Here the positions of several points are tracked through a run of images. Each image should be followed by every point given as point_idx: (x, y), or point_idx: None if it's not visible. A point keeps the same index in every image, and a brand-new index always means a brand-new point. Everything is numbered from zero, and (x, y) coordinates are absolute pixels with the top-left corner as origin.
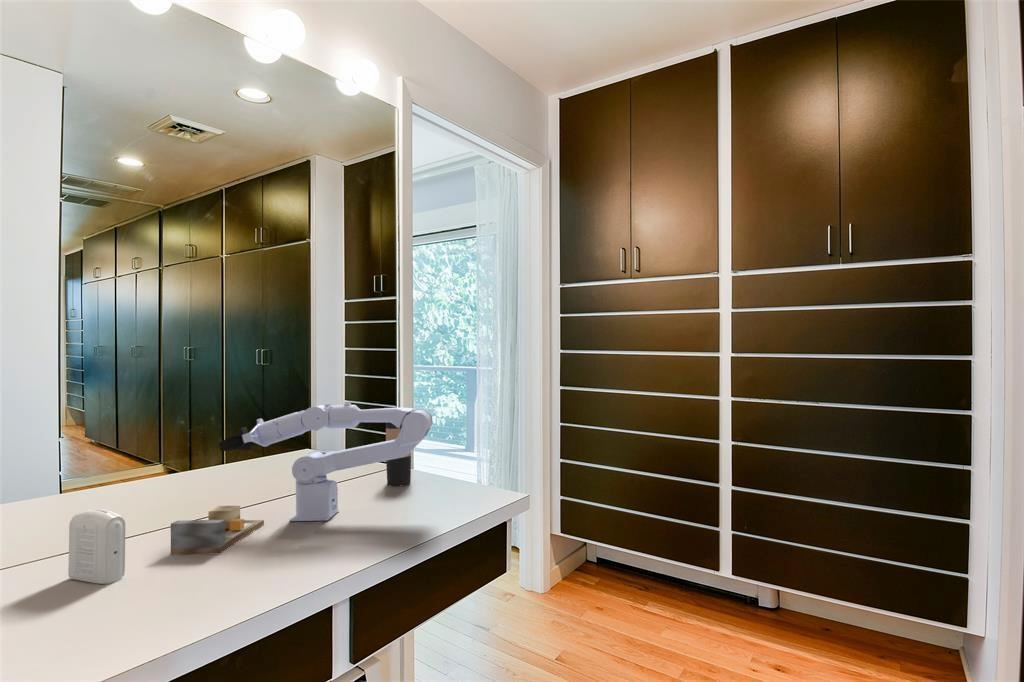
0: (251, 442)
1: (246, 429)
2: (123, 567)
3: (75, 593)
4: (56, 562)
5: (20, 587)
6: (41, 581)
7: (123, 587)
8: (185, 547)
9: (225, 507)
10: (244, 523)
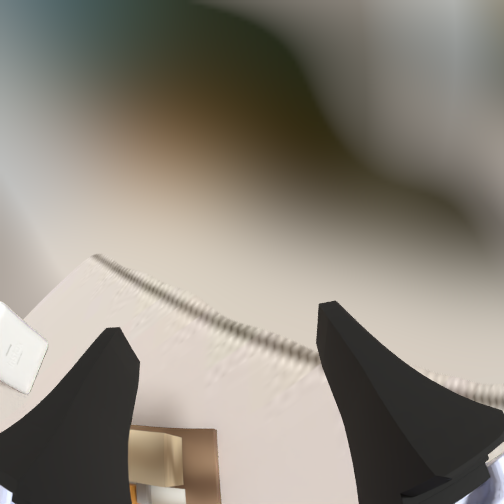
0: (349, 424)
1: (27, 499)
2: (20, 390)
3: None
4: (88, 285)
5: (39, 309)
6: (44, 316)
7: (12, 408)
8: None
9: (149, 456)
10: (183, 493)
